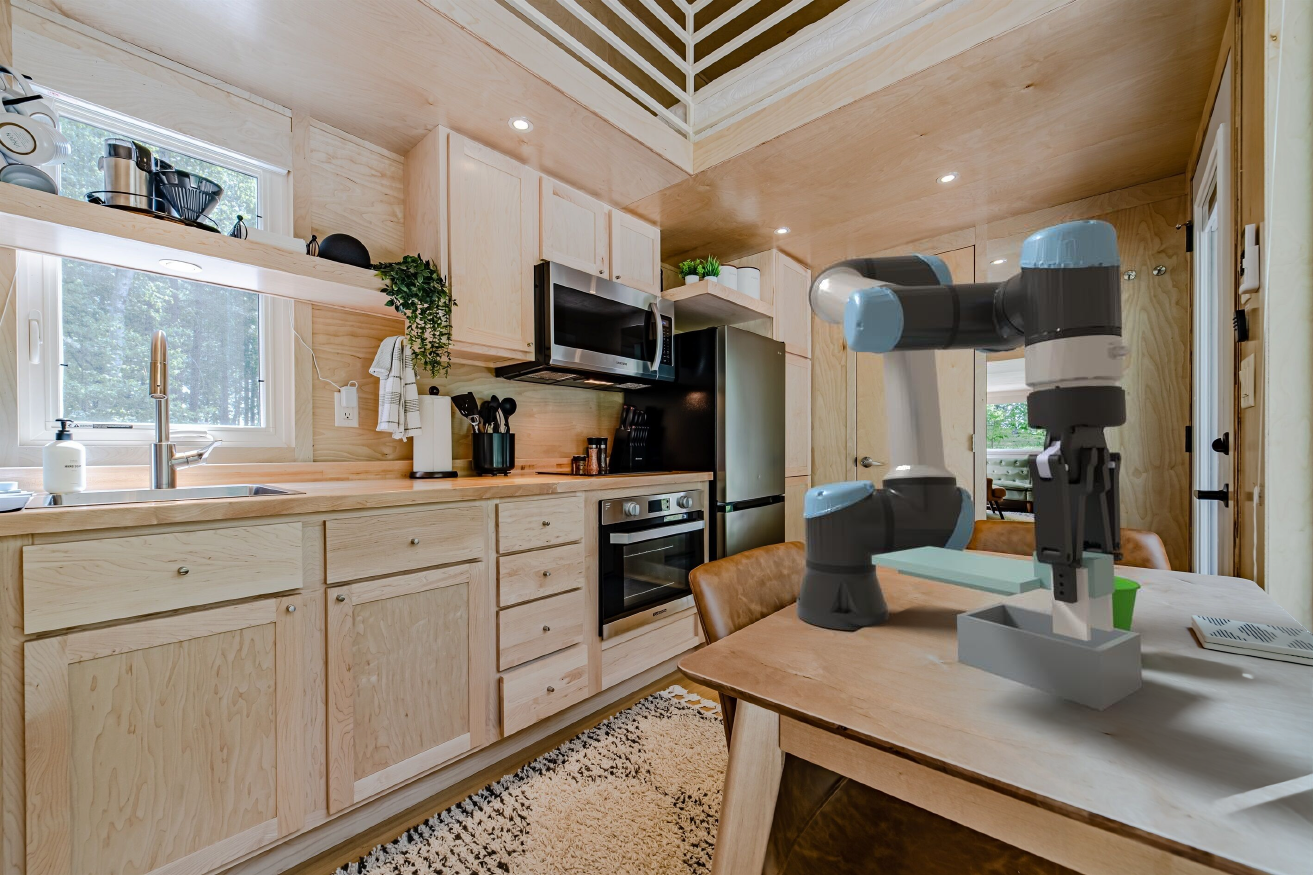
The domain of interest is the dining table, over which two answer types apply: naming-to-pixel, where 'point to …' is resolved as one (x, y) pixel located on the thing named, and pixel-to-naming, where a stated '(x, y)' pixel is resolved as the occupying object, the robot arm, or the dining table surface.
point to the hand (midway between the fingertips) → (1083, 630)
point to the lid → (993, 570)
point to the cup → (1123, 602)
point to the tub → (1050, 654)
